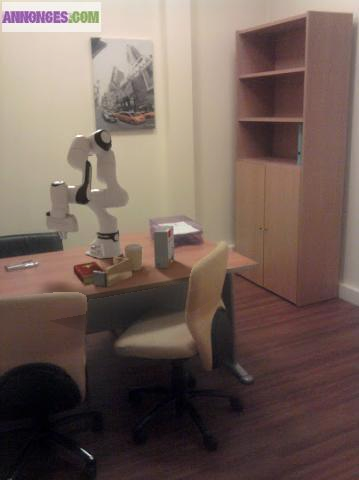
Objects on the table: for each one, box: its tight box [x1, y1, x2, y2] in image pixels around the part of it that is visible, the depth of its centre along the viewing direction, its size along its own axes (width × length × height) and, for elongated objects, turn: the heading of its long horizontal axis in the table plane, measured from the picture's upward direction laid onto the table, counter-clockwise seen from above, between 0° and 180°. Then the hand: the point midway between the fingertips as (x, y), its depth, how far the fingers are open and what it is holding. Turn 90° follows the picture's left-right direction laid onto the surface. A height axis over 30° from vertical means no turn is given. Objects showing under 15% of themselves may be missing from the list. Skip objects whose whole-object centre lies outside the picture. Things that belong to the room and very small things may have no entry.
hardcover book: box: [73, 261, 106, 284], centre depth 239 cm, size 12×21×4 cm, turn 26°
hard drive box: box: [153, 224, 175, 269], centre depth 250 cm, size 16×8×20 cm, turn 168°
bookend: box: [93, 271, 108, 288], centre depth 223 cm, size 7×2×7 cm, turn 58°
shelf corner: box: [105, 256, 133, 288], centre depth 230 cm, size 10×18×9 cm, turn 148°
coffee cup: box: [124, 243, 143, 271], centre depth 246 cm, size 9×9×12 cm
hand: (63, 238), depth 242 cm, fingers closed
